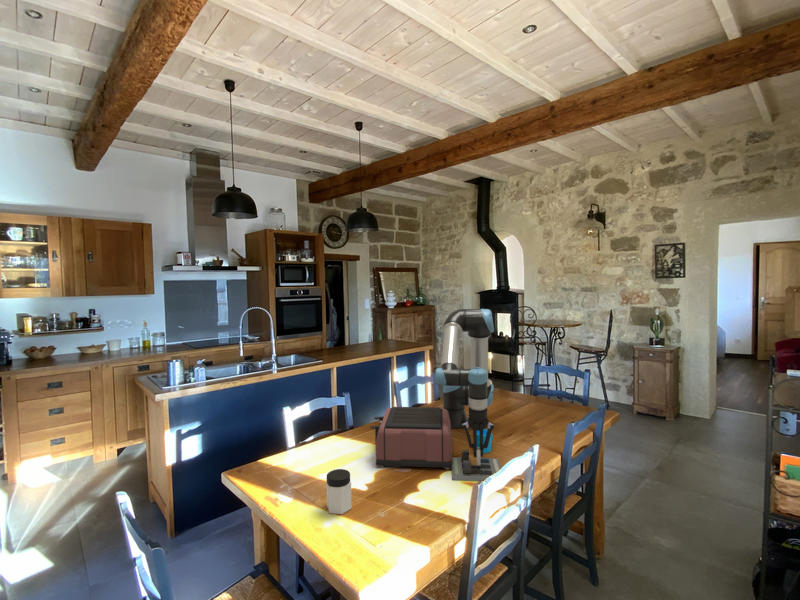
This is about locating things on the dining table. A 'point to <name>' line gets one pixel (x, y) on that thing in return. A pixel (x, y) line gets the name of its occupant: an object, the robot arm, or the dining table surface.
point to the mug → (484, 441)
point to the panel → (475, 469)
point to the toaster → (414, 437)
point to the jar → (338, 491)
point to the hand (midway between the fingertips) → (478, 463)
